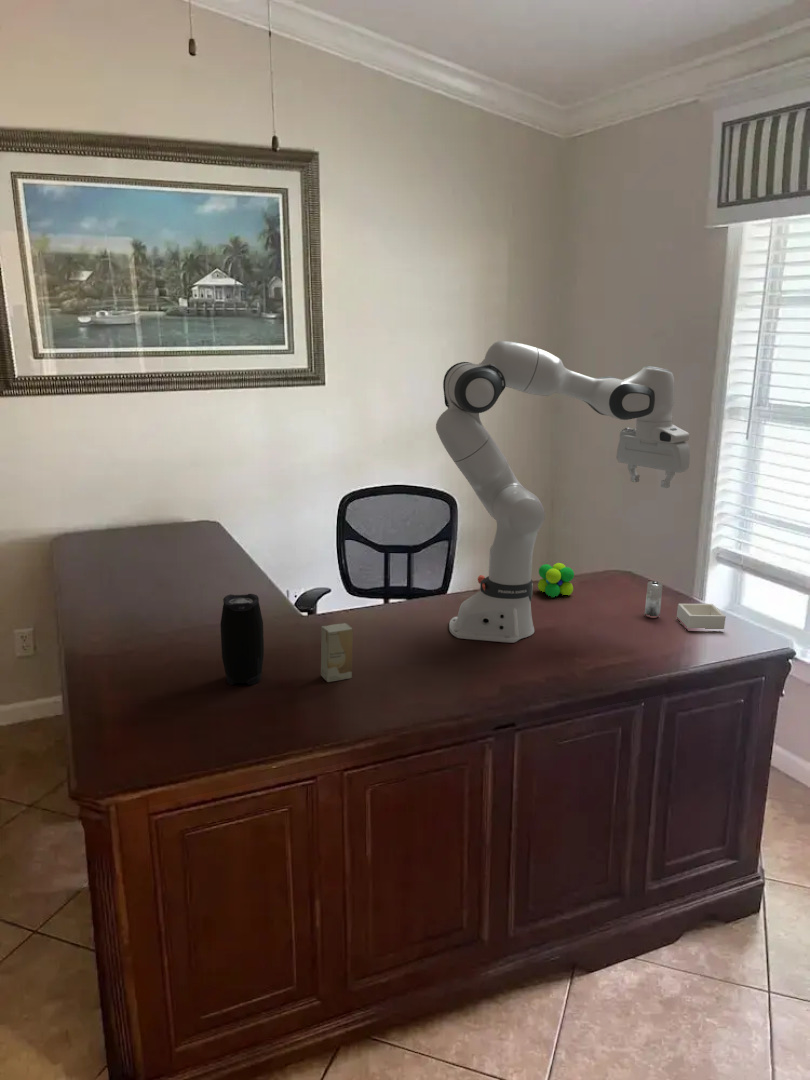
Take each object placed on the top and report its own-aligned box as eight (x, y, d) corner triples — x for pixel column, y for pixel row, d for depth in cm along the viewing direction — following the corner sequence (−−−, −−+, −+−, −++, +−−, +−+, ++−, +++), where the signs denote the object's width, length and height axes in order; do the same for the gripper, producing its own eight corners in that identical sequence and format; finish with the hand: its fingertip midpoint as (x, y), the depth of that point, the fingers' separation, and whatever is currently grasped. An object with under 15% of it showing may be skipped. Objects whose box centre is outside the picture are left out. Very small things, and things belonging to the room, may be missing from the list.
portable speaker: (216, 678, 196) (212, 597, 191) (252, 668, 202) (250, 589, 197) (234, 691, 190) (231, 607, 185) (271, 680, 196) (269, 599, 190)
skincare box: (327, 683, 195) (327, 632, 192) (320, 675, 199) (319, 626, 195) (353, 678, 198) (353, 628, 194) (345, 670, 201) (345, 621, 198)
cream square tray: (687, 631, 229) (689, 615, 228) (676, 618, 239) (678, 603, 237) (723, 632, 229) (725, 616, 228) (711, 619, 239) (712, 604, 237)
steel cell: (646, 618, 239) (650, 584, 236) (642, 613, 243) (646, 579, 240) (661, 618, 239) (664, 584, 236) (657, 613, 243) (660, 579, 240)
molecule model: (549, 600, 252) (575, 597, 255) (550, 571, 250) (577, 568, 253) (534, 590, 260) (560, 588, 263) (536, 563, 258) (562, 560, 261)
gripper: (612, 427, 225) (609, 479, 229) (680, 437, 210) (675, 492, 213) (628, 425, 229) (625, 476, 233) (695, 434, 213) (690, 489, 217)
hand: (649, 484), depth 223 cm, fingers open, 8 cm apart
